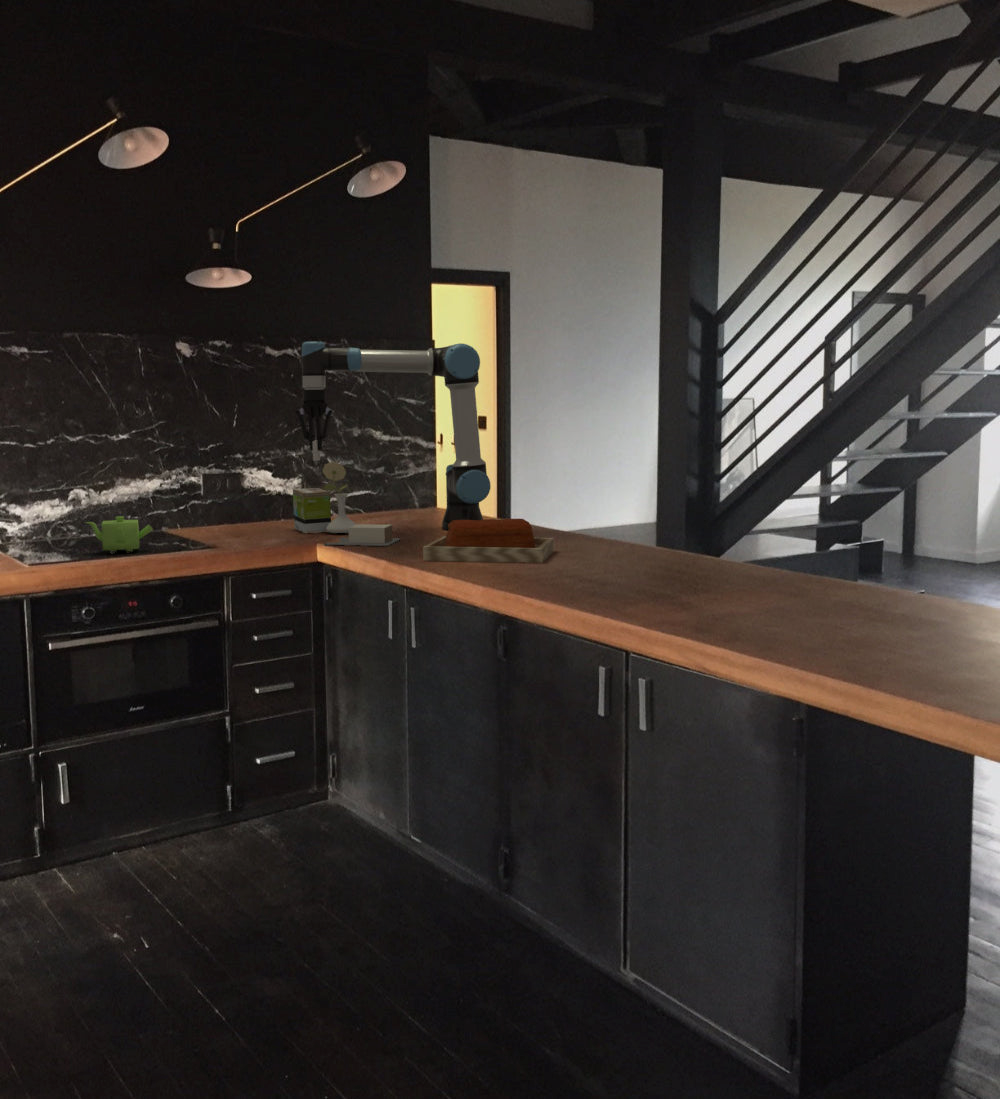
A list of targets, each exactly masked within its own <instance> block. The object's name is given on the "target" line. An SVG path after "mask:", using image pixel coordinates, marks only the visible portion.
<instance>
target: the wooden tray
mask: <svg viewBox="0 0 1000 1099" xmlns="http://www.w3.org/2000/svg"><path fill="white" fill-rule="evenodd" d="M534 543H535V548H501V547H445V544H446V536H441V537H439V538H438V539H435V540H434V541H431V542H430V543H428V544H426V545H424V546H422V554H423V556H422V559H423V560H422V561H424V562H425V561H428V562H431V561H432V562H438V561H439V562H472V563H474V562H476V563H478V562H480V563H481V562H482V563H483V562H484V563H485V562H486V563H519V562H526V563H527V564H531V563H532V564H543V563H544V561H545V560H546V559H547V558H549V557H550V556H551V555H552V554H553V553H554V551H555V538H554V537H534Z"/></svg>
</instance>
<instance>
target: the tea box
mask: <svg viewBox="0 0 1000 1099" xmlns="http://www.w3.org/2000/svg"><path fill="white" fill-rule="evenodd" d="M292 502H293V503H292V505H293V507H292V508H293V523H294V524H293V525H294V530H297V531H299V532H301V531H302V533H303V532H305V533H308V532H325V531H327V530H326V527H327V526H328V524H329V523H331V522H332V512H331V511H332V510H331V509H332V508H331V491H330V490H327V489H322V488H318V487H317V488H316V487H315V488H314V487H313V488H310V487H309V488H298V489H297V488H296V489H292Z"/></svg>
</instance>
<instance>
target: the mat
mask: <svg viewBox="0 0 1000 1099" xmlns="http://www.w3.org/2000/svg"><path fill="white" fill-rule="evenodd" d="M339 538H340V542H337V543H329V542H330V541H328V542H325V543H324V544H323V546H325V547H330V546H329V545H365V546H364V547H367V546H388V547H390V546H392V545H394V544H396V543H398V542H400V541H401V540H402V539H401V538H394V537H393V539H392V540H391V541H389V542H387V543H349V537H339ZM399 540H400V541H399ZM397 541H398V542H397ZM395 542H396V543H395ZM393 543H394V544H393ZM391 544H392V545H391ZM389 545H390V546H389Z"/></svg>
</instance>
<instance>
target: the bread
mask: <svg viewBox="0 0 1000 1099" xmlns="http://www.w3.org/2000/svg"><path fill="white" fill-rule="evenodd" d="M448 527H449V530H447V533H446V544H445V547H501V548H535V543H534V538H535V536H534V534H533V527H532V524H530V521H527V520H526V519H524V518H503V519H495V518H494V519H493V518H491V519H490V518H489V519H487V518H486V519H485V518H483V520H453V521H452V522H451V523H450V524H448Z"/></svg>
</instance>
